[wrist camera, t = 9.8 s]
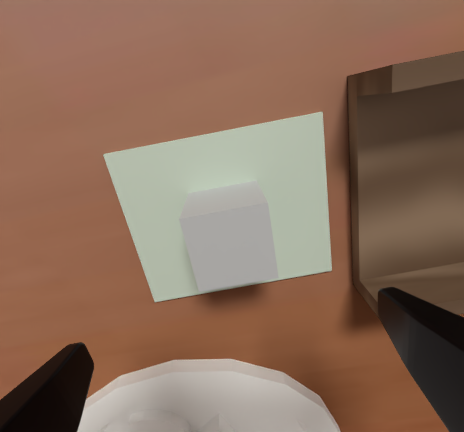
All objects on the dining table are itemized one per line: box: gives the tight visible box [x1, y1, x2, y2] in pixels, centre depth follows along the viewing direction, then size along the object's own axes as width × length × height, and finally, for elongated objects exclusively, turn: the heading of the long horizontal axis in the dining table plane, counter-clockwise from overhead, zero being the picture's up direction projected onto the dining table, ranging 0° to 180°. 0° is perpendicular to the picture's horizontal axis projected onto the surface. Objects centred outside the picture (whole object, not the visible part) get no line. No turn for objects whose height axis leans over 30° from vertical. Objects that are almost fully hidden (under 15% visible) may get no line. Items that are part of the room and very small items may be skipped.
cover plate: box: [103, 112, 332, 302], centre depth 15 cm, size 10×12×5 cm
